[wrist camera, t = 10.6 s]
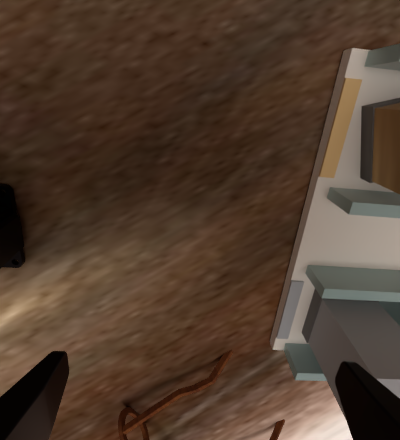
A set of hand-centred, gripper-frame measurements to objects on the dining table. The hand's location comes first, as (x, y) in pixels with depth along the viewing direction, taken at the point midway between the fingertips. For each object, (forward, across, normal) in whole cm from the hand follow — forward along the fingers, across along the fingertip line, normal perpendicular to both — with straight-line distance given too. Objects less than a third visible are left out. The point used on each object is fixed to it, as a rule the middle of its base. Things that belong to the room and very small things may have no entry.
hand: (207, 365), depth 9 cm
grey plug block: (+12, -12, +8) cm, 19 cm away
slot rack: (+13, -12, 0) cm, 18 cm away
